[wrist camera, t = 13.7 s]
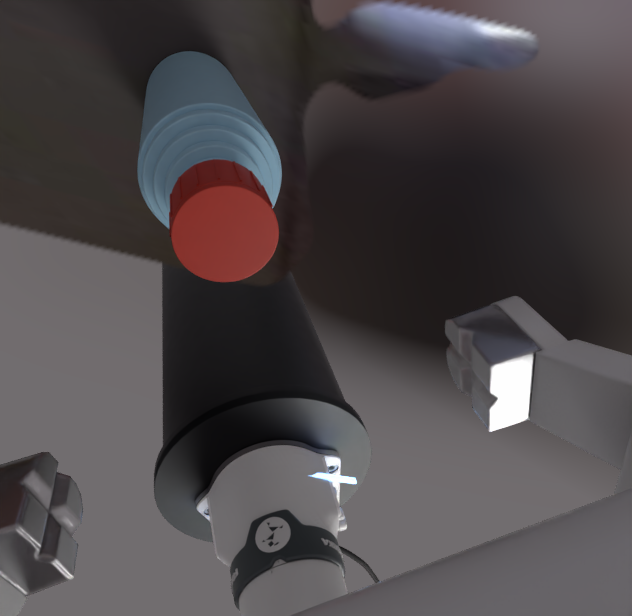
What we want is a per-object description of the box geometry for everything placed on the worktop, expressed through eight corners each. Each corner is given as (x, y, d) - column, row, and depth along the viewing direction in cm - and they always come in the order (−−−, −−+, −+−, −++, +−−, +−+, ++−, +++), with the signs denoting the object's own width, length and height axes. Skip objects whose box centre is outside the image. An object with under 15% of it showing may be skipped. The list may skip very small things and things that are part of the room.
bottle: (250, 134, 38) (323, 274, 21) (166, 158, 38) (171, 322, 20) (224, 40, 34) (288, 117, 17) (130, 64, 34) (98, 170, 16)
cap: (153, 174, 19) (152, 203, 17) (252, 146, 20) (264, 170, 17) (188, 260, 22) (192, 295, 19) (276, 233, 22) (290, 265, 20)
